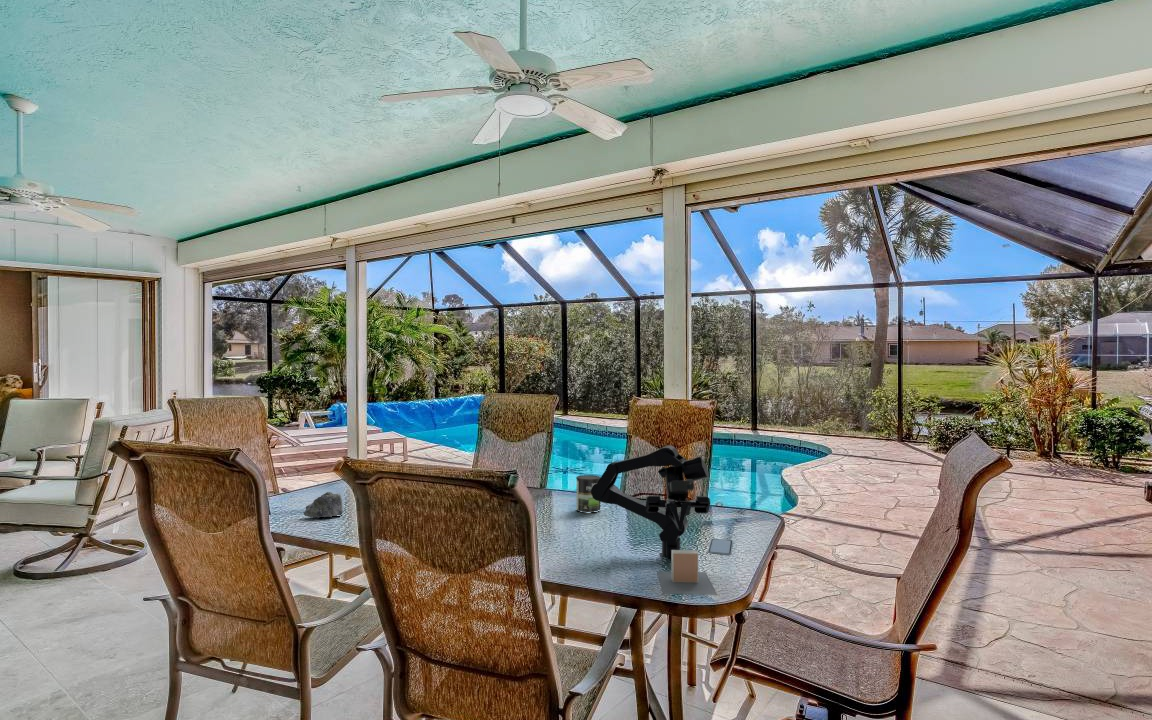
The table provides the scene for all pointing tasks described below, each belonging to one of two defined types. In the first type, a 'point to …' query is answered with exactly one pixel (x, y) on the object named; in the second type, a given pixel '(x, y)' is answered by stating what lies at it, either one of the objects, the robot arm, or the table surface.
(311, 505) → the mineral rock
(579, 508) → the coffee can
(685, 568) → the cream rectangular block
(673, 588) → the mat
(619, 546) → the table surface
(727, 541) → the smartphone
